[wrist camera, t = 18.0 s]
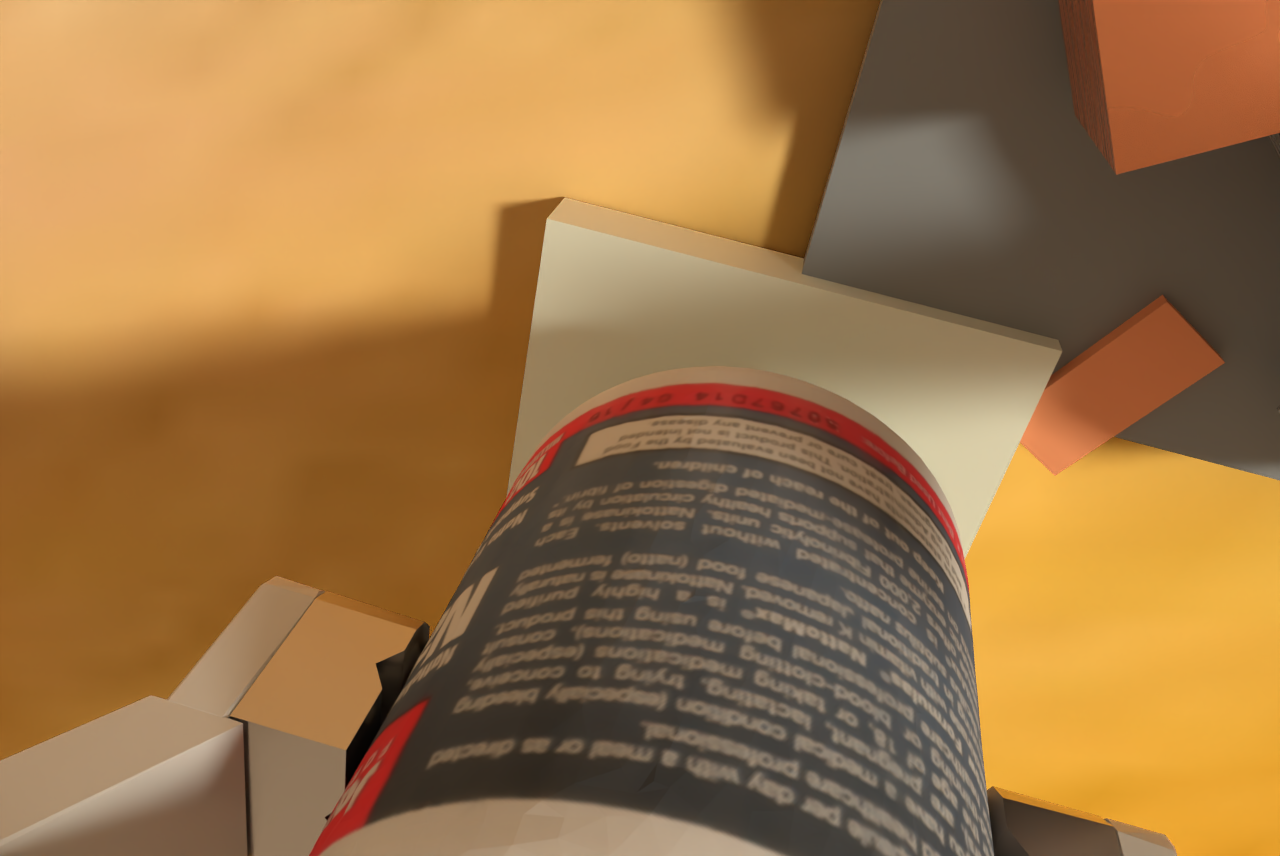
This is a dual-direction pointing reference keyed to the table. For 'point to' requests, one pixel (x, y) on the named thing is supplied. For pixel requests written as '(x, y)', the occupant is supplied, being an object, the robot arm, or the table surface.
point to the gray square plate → (1060, 235)
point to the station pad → (773, 343)
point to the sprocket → (1173, 75)
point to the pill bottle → (694, 647)
